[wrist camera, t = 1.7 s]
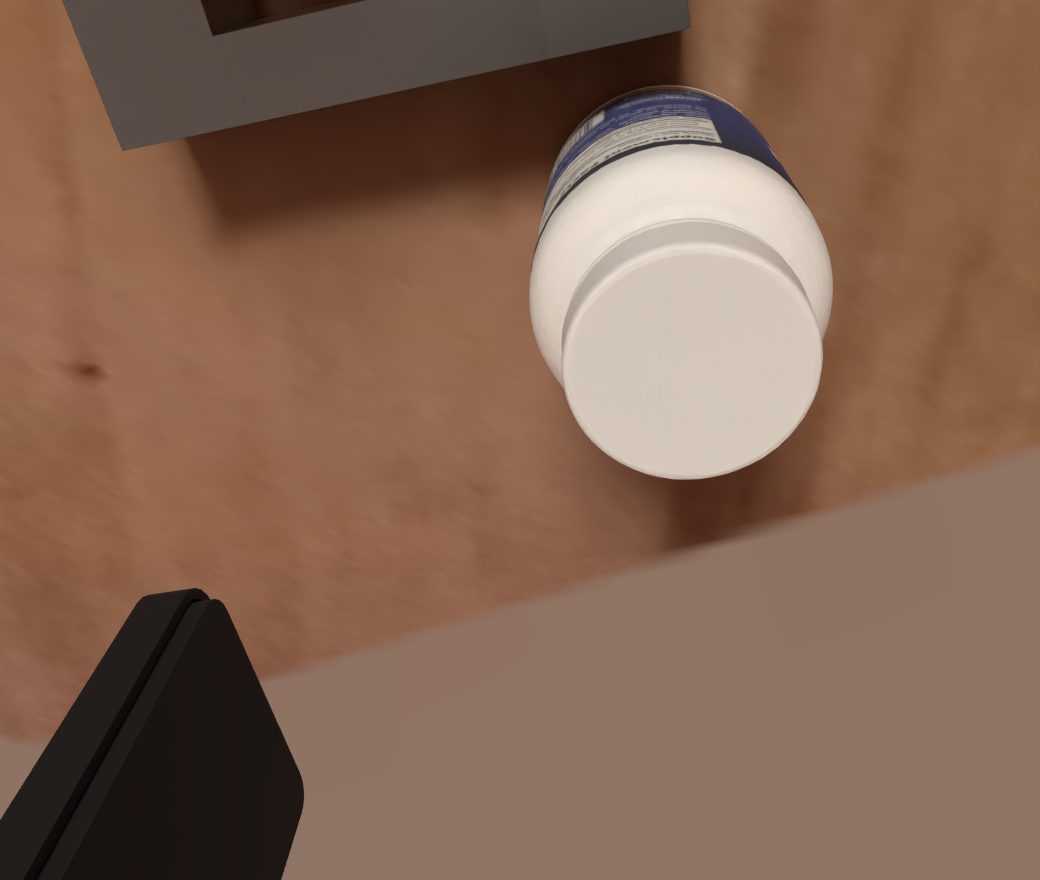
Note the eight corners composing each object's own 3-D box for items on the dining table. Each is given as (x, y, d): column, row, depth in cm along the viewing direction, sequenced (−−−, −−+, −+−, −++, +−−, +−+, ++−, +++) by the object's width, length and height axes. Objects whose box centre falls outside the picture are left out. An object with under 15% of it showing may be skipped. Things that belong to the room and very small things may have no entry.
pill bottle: (794, 273, 24) (895, 482, 16) (582, 327, 25) (569, 549, 17) (752, 47, 22) (844, 151, 13) (520, 118, 23) (467, 256, 14)
